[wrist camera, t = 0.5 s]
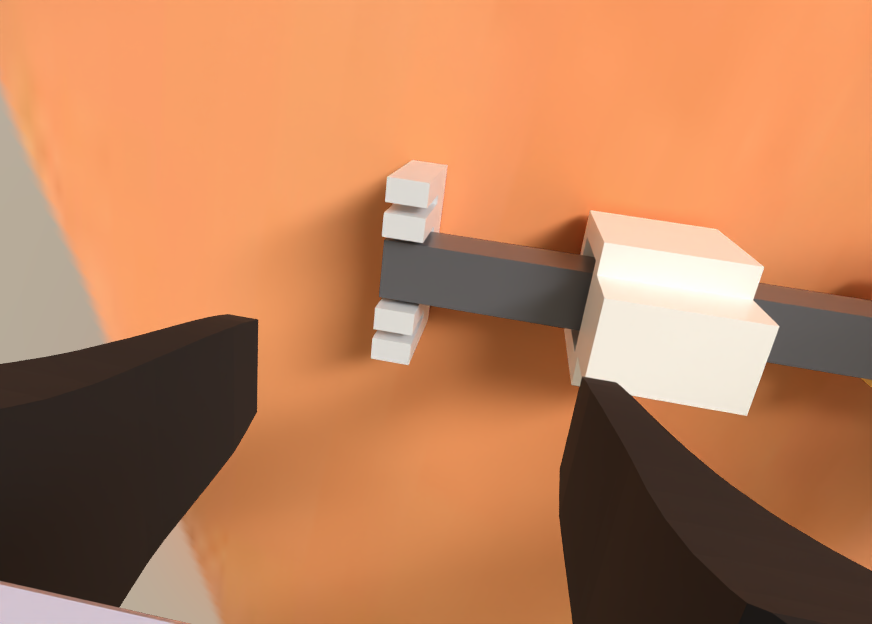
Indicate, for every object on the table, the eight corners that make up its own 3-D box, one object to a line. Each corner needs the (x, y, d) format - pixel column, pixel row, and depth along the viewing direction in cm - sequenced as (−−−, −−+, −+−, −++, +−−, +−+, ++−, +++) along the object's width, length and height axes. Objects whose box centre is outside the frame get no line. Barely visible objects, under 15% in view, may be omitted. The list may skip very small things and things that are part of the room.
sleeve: (716, 229, 19) (792, 289, 14) (681, 348, 21) (736, 446, 15) (589, 210, 20) (612, 261, 14) (563, 328, 21) (575, 417, 16)
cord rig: (1022, 248, 18) (1149, 292, 15) (943, 407, 21) (1036, 481, 17) (412, 159, 20) (384, 178, 16) (395, 314, 22) (368, 362, 18)
